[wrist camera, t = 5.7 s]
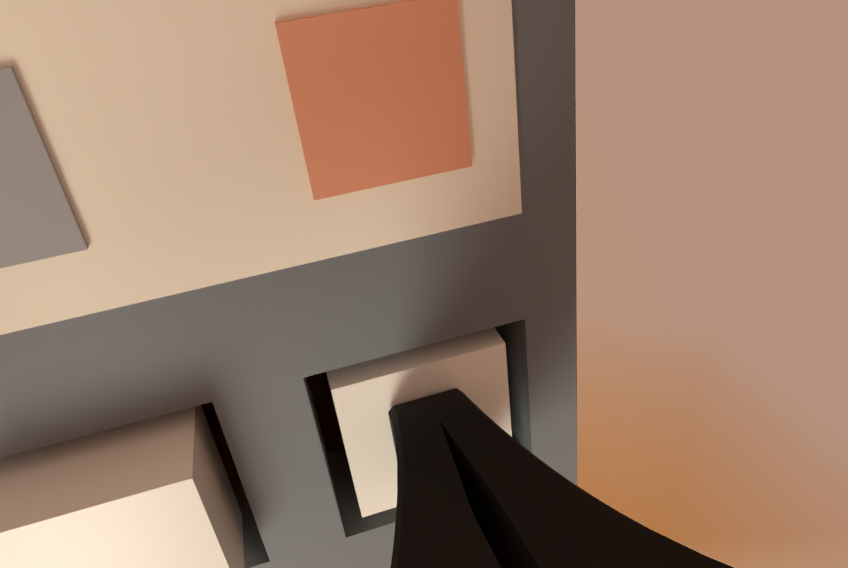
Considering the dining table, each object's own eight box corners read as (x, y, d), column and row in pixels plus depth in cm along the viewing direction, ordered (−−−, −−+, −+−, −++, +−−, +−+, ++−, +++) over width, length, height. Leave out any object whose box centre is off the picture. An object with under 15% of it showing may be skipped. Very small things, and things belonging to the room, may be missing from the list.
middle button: (75, 564, 13) (51, 672, 11) (3, 441, 11) (-40, 544, 9) (242, 514, 13) (246, 609, 11) (195, 390, 12) (192, 478, 10)
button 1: (343, 443, 15) (362, 517, 13) (314, 325, 13) (331, 390, 11) (477, 405, 15) (514, 470, 13) (465, 287, 14) (505, 342, 12)
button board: (-183, 706, 14) (-259, 853, 12) (-896, 42, 7) (-1389, 89, 5) (533, 482, 17) (581, 565, 15) (502, -139, 10) (581, -159, 8)
